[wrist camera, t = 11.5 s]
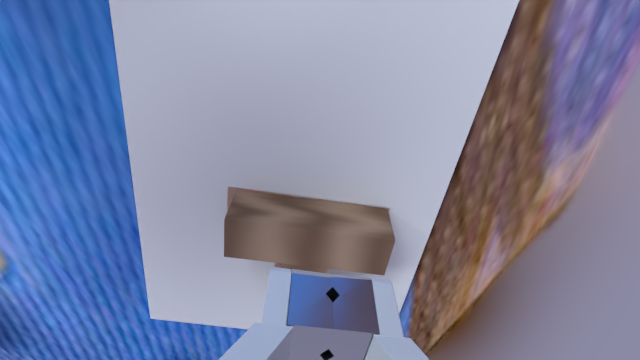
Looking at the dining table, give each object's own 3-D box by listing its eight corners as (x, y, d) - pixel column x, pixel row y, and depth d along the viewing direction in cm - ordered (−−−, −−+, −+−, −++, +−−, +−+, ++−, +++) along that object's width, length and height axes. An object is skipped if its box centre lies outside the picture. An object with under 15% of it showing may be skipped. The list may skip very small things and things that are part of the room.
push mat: (154, 311, 43) (150, 318, 42) (107, -77, 24) (98, -78, 23) (386, 337, 45) (387, 344, 44) (514, -6, 26) (521, -5, 25)
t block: (233, 296, 40) (223, 331, 36) (236, 189, 33) (224, 219, 29) (358, 310, 41) (361, 346, 37) (387, 208, 34) (395, 240, 30)
